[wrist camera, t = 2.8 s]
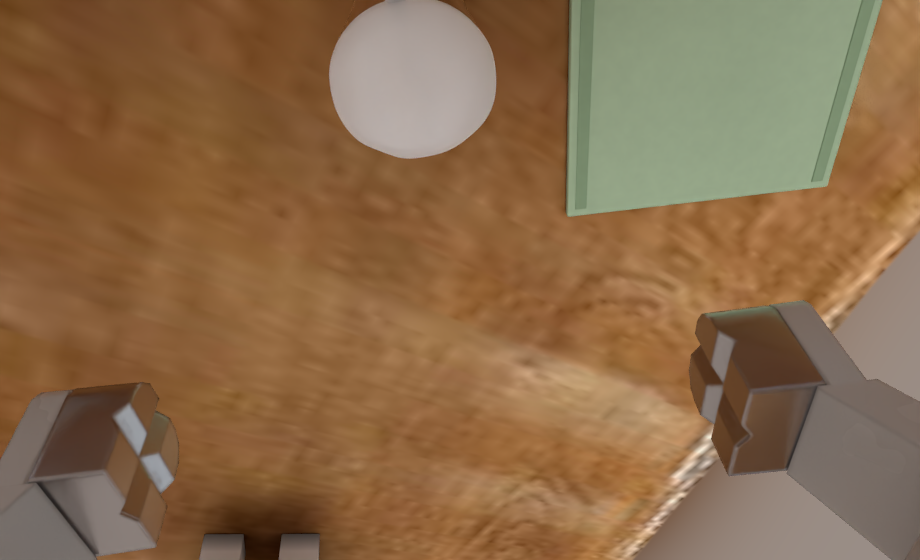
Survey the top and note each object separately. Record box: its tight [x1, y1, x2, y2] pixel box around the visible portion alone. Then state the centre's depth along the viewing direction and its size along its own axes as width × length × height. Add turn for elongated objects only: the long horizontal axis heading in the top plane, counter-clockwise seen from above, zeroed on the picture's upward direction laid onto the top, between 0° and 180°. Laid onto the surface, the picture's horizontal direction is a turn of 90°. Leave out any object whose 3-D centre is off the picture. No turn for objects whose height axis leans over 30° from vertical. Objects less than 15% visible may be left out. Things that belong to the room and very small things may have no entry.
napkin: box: [566, 0, 882, 217], centre depth 27 cm, size 16×12×1 cm
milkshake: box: [329, 0, 496, 158], centre depth 21 cm, size 4×5×10 cm
